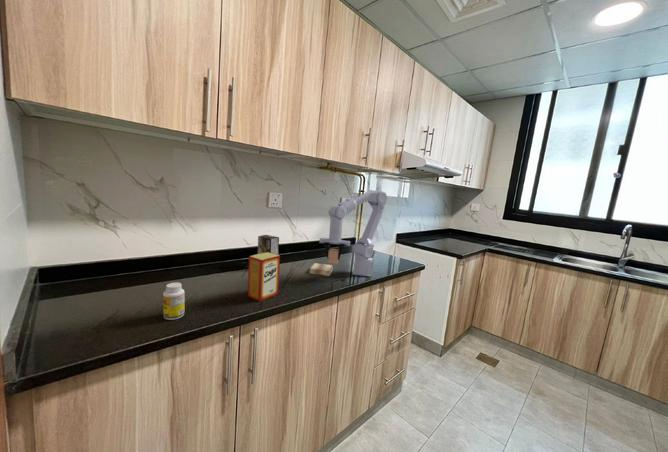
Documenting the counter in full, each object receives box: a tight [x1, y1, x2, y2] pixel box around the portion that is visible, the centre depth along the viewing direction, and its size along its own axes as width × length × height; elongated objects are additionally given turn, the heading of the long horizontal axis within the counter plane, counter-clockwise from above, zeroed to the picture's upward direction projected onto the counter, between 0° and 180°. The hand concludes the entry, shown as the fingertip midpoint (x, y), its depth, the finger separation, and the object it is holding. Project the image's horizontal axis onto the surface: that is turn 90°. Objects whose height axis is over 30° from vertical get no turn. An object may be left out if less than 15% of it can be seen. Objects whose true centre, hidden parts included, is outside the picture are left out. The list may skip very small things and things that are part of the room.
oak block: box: [309, 262, 334, 277], centre depth 133 cm, size 10×10×3 cm
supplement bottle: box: [162, 282, 186, 321], centre depth 79 cm, size 6×6×10 cm
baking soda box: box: [247, 252, 281, 302], centre depth 98 cm, size 10×6×16 cm
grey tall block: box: [257, 234, 280, 255], centre depth 132 cm, size 9×6×16 cm
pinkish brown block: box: [327, 247, 339, 265], centre depth 123 cm, size 4×4×6 cm
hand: (333, 258), depth 123 cm, fingers closed on pinkish brown block, 4 cm apart
